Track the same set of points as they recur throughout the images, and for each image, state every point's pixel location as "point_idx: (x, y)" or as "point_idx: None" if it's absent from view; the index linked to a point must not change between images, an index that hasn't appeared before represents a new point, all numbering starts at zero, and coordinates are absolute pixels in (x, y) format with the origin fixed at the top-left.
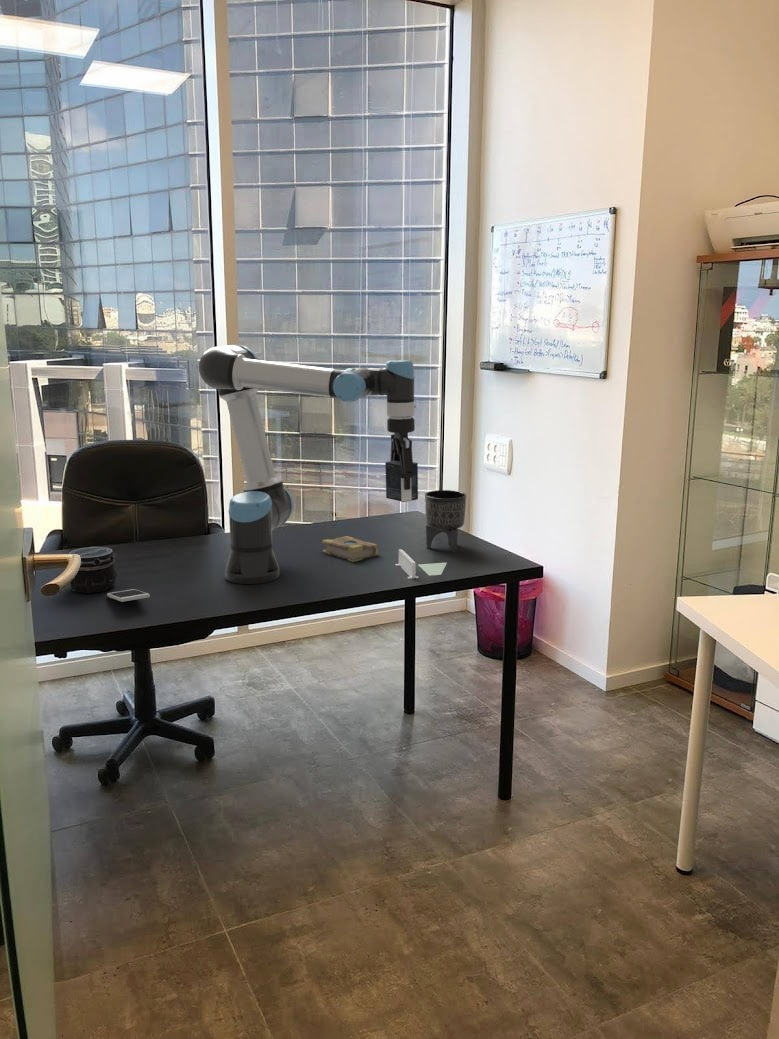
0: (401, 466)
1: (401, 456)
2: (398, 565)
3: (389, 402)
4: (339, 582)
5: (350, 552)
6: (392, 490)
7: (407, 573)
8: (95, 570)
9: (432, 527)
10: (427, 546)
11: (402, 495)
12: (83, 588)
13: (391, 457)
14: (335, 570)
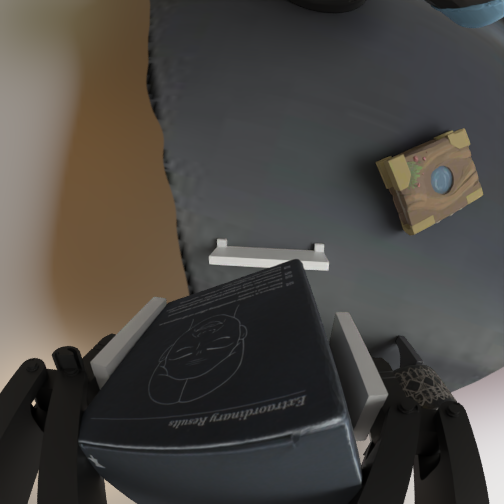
0: (61, 424)
1: (42, 497)
2: (314, 248)
3: None
4: (242, 95)
5: (390, 158)
6: (233, 296)
7: (251, 248)
8: None
9: (395, 370)
10: (399, 339)
11: (141, 311)
12: None
13: (456, 470)
14: (328, 107)
